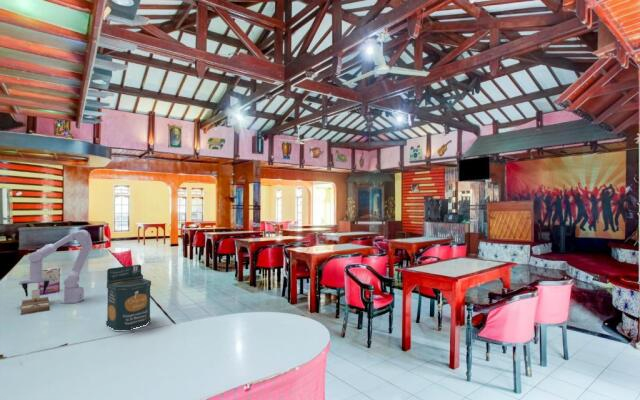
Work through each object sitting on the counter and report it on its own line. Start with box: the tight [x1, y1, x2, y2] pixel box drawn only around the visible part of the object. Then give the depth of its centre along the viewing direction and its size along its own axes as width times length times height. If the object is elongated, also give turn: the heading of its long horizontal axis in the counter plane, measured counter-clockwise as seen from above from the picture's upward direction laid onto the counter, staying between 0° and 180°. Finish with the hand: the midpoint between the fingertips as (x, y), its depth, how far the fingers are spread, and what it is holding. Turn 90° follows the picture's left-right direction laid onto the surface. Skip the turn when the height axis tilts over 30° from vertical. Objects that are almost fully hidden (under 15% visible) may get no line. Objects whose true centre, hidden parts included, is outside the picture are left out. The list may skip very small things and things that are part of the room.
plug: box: [31, 289, 41, 302], centre depth 198 cm, size 4×4×6 cm
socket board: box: [20, 296, 51, 316], centre depth 194 cm, size 24×12×2 cm, turn 41°
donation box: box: [105, 264, 152, 331], centre depth 166 cm, size 16×16×28 cm
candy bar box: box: [37, 267, 61, 296], centre depth 226 cm, size 11×5×16 cm, turn 143°
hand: (35, 295), depth 198 cm, fingers open, 7 cm apart
